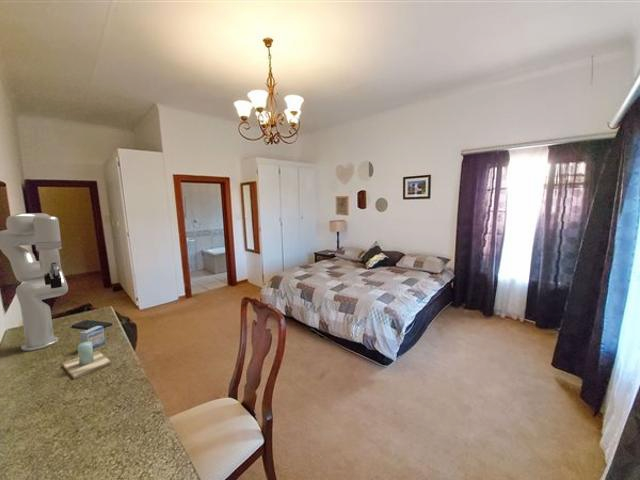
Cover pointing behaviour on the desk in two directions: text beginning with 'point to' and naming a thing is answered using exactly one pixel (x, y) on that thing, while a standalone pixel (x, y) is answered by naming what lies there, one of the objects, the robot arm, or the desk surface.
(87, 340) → the medicine box
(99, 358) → the birch board
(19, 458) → the desk surface
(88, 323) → the smart home device
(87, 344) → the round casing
